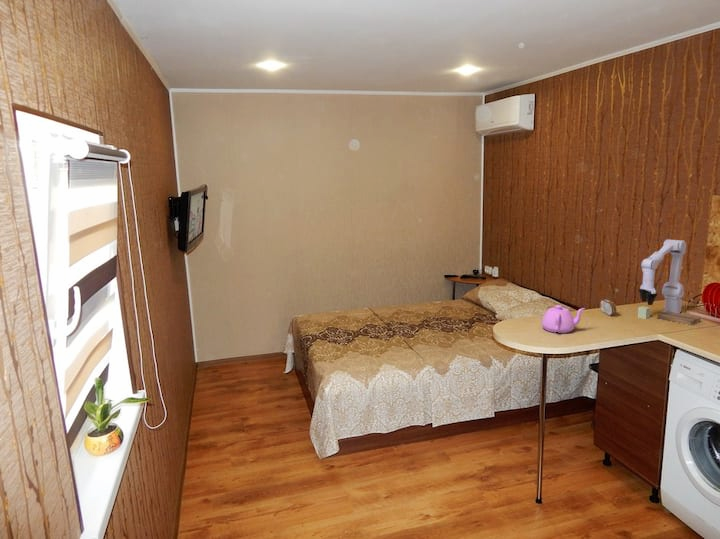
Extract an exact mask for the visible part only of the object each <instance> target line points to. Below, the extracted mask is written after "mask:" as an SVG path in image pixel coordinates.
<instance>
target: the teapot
mask: <svg viewBox="0 0 720 539" xmlns="http://www.w3.org/2000/svg"><path fill="white" fill-rule="evenodd" d="M584 310H586V308H585V307H582V308H579V309H578V310H577V312H576V316H575V317H574V316H573V314H572V312H571V311H570V310H569V309H568V308H565V307H563V305H561V304H557V305H555V306H554V307H553V306H552V307H549V308H548V309H546V312H545V313H544V314H543V316H542V318H541V323H540V325H541V326H542V328H544V330H545V331H548V332H550V333H556V332H558V334H561V333H562V334H565V333H571V332H572V331H573V330H574V329H575V328H576V326H577V325H578V324H579V323H580V321H581V315H582V312H583V311H584Z"/></svg>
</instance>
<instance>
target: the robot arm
mask: <svg viewBox="0 0 720 539" xmlns="http://www.w3.org/2000/svg"><path fill="white" fill-rule="evenodd" d="M686 252H687V242H686V241H685V240H684V239H683V240H678V239H669V238H667V239H665V240H664V241H663V246H662V247H661V248H660V249H659V250H658V251H654V252H653V253H652V254H651V255H649V257H647V258H644V259H643V260H642V261H641V264H640V265H641V271H642V282H641V283H642V284H641V285H640V287H639V289H638V292H639V294H640V295H639V296H640V299H641V302H643V303H644V302H645V303H647V305H648V306H653V304H654V301H655V299H656V297H657V296H658V293H657V290H656V288H655V276H656V270H657V269H658V266H659V265H660V263H661V262H662V261H663V260H664V259H665V256H666V254H671V255H672V258H671V264H670V271H669V279H668V281H667V282H665V283H664V284H663V287H662V290H661V294H662V296H663V298H664V310H662V311H660V312H661V313H664V312H667V311H668V312H673V313H679V314H681V313H680V311H682V303H683V300H682V298H683V297H684V295H685V292H684V291H685V290H684V289H685V288H684V285H683V284H682V283H680V278H681V271H682V264H683V256H684V255H685V254H686Z"/></svg>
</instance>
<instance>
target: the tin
mask: <svg viewBox="0 0 720 539" xmlns="http://www.w3.org/2000/svg"><path fill="white" fill-rule="evenodd" d="M600 310H601V312H602V313H604V314H605V315H607V316H610V317H615V316H616V314H617V306H616V304H615V302H614V301H611V300H609V299H607V298H605V299H601V300H600Z"/></svg>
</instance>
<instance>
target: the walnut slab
mask: <svg viewBox="0 0 720 539" xmlns="http://www.w3.org/2000/svg"><path fill="white" fill-rule="evenodd" d="M657 319H658V320H660V319H662V321H665V320H667V322H670V321H672V322H671V323H675V322H678V323H677V324H680V323H683V324H682V325H685V324H688V325H687V326H690V325H691V326H693V325H695V323H696V324H698V323H697V322H699V323H700V322H701V317H700V316H694V315H688V314H684V313H683V314H682V313H673V312H668V311H667V312H661V313H658V314H657ZM692 324H693V325H692Z"/></svg>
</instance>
